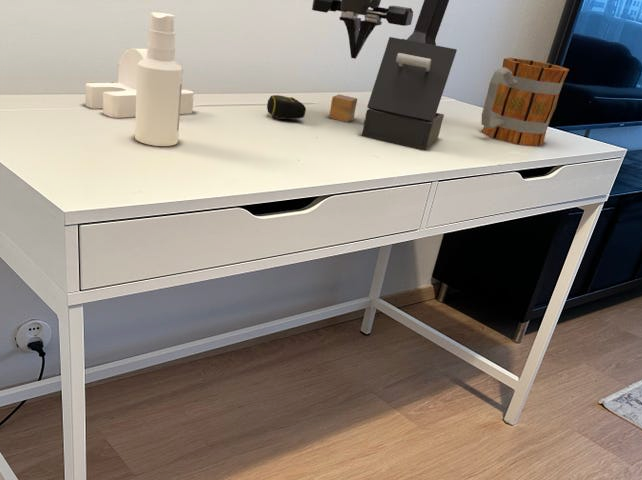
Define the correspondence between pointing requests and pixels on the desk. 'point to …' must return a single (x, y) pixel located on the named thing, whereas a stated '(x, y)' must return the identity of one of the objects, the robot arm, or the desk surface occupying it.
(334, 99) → the orange-brown cube
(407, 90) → the lid
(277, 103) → the tape measure
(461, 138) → the desk surface
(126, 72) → the white slotted bracket
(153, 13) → the spray bottle
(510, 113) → the mug
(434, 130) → the dark grey box
